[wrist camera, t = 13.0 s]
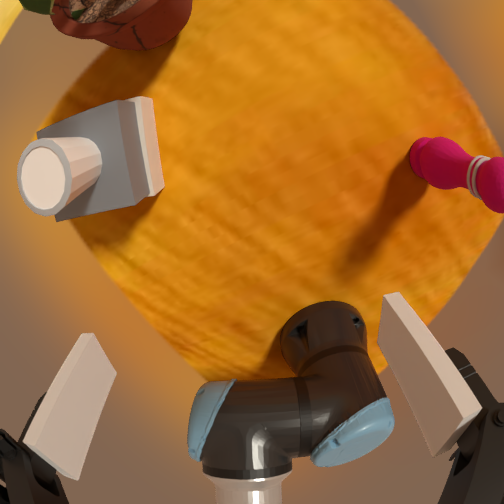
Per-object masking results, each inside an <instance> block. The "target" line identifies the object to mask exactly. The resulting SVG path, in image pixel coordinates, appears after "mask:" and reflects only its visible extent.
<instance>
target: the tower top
mask: <svg viewBox="0 0 504 504" xmlns="http://www.w3.org/2000/svg"><path fill="white" fill-rule="evenodd" d="M59 137H83V138H88V139H90V140H91V141H93V142H94V143H95V144H96V145H97V147H98V149H99V151H100V153H101V158H102V168H101V174H100V175H99V177H98V179H97V181H96V182H95V183H94V184H93V185H91V186H90V187H89V188H87V189H86V190H85V191H84V192H82V193H81V194H80V195H78V196H77V197H76V198H75V199H73V200H72V201H71V202H70V203H69V204H67V205H66V206H65V207H64V208H62V209H61V210H60V211H59V212H58V213H57V214H55V218H56V222H59V221H63V220H67V219H72V218H76V217H80V216H85V215H89V214H94V213H99V212H103V211H108V210H113V209H118V208H123V207H128V206H133V205H136V204H138V203H139V202H140V201H141V200H142V199H143V198H145V197H146V196H147V195H148V194H149V193H150V189H149V184H148V179H147V174H146V169H145V164H144V158H143V153H142V147H141V141H140V135H139V129H138V122H137V115H136V108H135V102H131V101H123V100H115V101H112V102H109V103H106V104H103V105H100V106H97V107H94V108H91V109H89V110H86V111H84V112H81V113H78V114H76V115H73V116H71V117H69V118H66V119H64V120H62V121H59V122H57V123H55V124H52V125H50V126H48V127H46V128H44V129H42V130H40V131H38V132H37V138H38V139H41V138H59Z"/></svg>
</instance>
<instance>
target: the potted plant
mask: <svg viewBox="0 0 504 504" xmlns="http://www.w3.org/2000/svg"><path fill="white" fill-rule="evenodd" d="M19 1H20V3H21V4H22V6H23V8H24V9H25V10H28V11H32V12H36V13H39V14H45V15H50V16H51V19H52V21H53V25H54V26H55V27H56V28H57V29H58V30H59V31H60V32H62V33H64V34H65V35H68V36H72V37H76V38H80V39H95V40H98V41H100V42H103V43H105V44H107V45H109V46H112V47H115V48H118V49H126V50H136V51H140V50H148V49H152V48H155V47H158V46H160V45H163V44H164V43H166V42H168V41H170V40H171V39H172V38H173V37H175V36H176V35H177V34H178V33H179V32H180V31H181V30H182V29H183V28H184V26H185V25H186V23H187V22H188V19H189V17H190V14H191V10H192V0H19Z"/></svg>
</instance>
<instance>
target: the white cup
mask: <svg viewBox="0 0 504 504" xmlns="http://www.w3.org/2000/svg"><path fill="white" fill-rule="evenodd" d="M101 168H102V158H101V153H100V151H99V149H98V147H97V145H96V144H95V143H94V142H93V141H91V140H90V139H88V138H83V137H59V138H41V139H38V140H36V141H33V142H31V143H30V144H29V145H28V146H27V148H26V149H25V150H24V151H23V153H22V155H21V158H20V161H19V163H18V172H17V181H18V186H19V191H20V194H21V196H22V198H23V200H24V202H25V203H26V205H27V206H28V207H29V208H30V209H31V210H32V211H33V212H34V213H36V214H39V215H42V216H50V215H55V214H57V213H58V212H59V211H60V210H61V209H62V208H64V207H65V206H66V205H67V204H69V203H70V202H71V201H72V200H73V199H75V198H76V197H77V196H78V195H80V194H81V193H82V192H84V191H85V190H86V189H87V188H89V187H90V186H91V185H93V184H94V183H95V182H96V181H97V179H98V177H99V175H100V174H101Z"/></svg>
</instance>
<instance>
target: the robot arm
mask: <svg viewBox="0 0 504 504" xmlns="http://www.w3.org/2000/svg"><path fill="white" fill-rule="evenodd" d="M377 343H378V345H379V347H380V349H381V351H382V353H383V355H384V357H385V358H386V360H387V362H388V364H389V366H390V368H391V370H392V372H393V374H394V375H395V378H396V380H397V382H398V383H399V386H400V387H401V390H402V391H403V394H404V396H405V398H406V400H407V402H408V404H409V406H410V408H411V410H412V412H413V414H414V417H415V419H416V421H417V423H418V425H419V427H420V429H421V432H422V434H423V436H424V438H425V441H426V443H427V445H428V447H429V450H430V452H431V454H432V457H435V456H438V455H439V454H442V453H443V452H445V451H448V450H450V449H451V448H452V446H453V445H454V444H455V443H456V442H457V444H458V446H459V448H458V449H457V450H456V451H455V452H454V453H453V454H452V456H451V457H450V459H449V461H451V460H452V459H454V457H455V459H454V462H453V465H452V468H451V471H450V474H449V477H448V479H447V482H446V485H445V487H444V490H443V492H442V495H441V497H440V500H439V502H438V504H504V403H498V402H497V401H496V399H495V398H494V397H493V395H492V394H491V392H490V391H489V389H488V388H487V386H486V385H485V383H484V382H483V380H482V379H481V378H480V376H479V375H478V373H476V371H475V369H474V368H473V366H471V365H470V362H469V361H468V359H467V358H466V357H465V355H464V354H462V353H461V352H459V351H458V350H456V349H455V348H451V349H448V350H446V351H444V350H443V349H442V347H441V346H440V344H439V343H438V342H437V340H436V339H435V338H434V337H433V335H432V334H431V332H430V331H429V330H428V328H427V327H426V326H425V324H424V323H423V322H422V320H421V319H420V318H419V317H418V315H417V314H416V313H415V312H414V310H413V309H412V308H411V306H410V305H409V304H408V303H407V302H406V300H405V299H404V298H403V297H402V295H401V294H400V293H399V292H395V293H391V294H387V295H383V303H382V311H381V319H380V326H379V333H378V340H377ZM280 344H281V350H282V354H283V357H284V359H285V360H286V362H287V363H288V365H289V366H290V368H291V369H292V371H293V372H294V374H295V375H296V377H293V378H292V377H291V378H278V379H261V380H237V379H232V380H229V381H211V382H207V383H205V384H204V385H202V386H201V387H200V389H199V390H198V392H197V394H196V396H195V399H194V402H193V405H192V409H191V413H190V419H189V425H188V437H187V439H188V440H187V441H188V442H187V443H188V447H189V449H188V450H189V451H188V452H189V455H190V457H191V458H192V459H194V460H196V461H202V464H203V474H204V475H205V476H206V477H207V478H208V479H210V480H211V481H212V482H213V483H214V484H215V489H216V504H282V492H281V482H282V481H283V480H284V479H285V478H286V477H287V476H288V475H289V474H290V473H291V472H292V458H297V457H305V456H310V459H311V461H312V462H313V464H314V465H316V466H319V467H323V466H325V467H331V466H336V465H340V464H344V463H347V462H350V461H352V460H354V459H357V458H359V457H361V456H363V455H365V454H367V453H368V452H370V451H372V450H373V449H375V448H376V447H377V446H379V445H380V444H381V443H382V442H384V441H385V440H386V439H387V438H388V436H389V435H390V434H391V432H392V430H393V428H394V424H395V421H394V416H393V412H392V409H391V406H390V400H389V399H388V398H387V396H386V393H385V391H384V389H383V387H382V384H381V382H380V380H379V378H378V375H377V373H376V371H375V369H374V366H373V364H372V362H371V360H370V358H369V356H368V353H367V330H366V325H365V322H364V320H363V319H362V317H361V315H360V313H359V312H358V310H357V309H356V308H354V307H353V306H351V305H349V304H347V303H344V302H339V301H325V302H320V303H316V304H313V305H310V306H308V307H306V308H304V309H302V310H300V311H299V312H297V313H296V314H295V315H294V316H293V317H291V318H290V319H289V321H288V322H287V323H286V325H285V326H284V328H283V330H282V333H281V337H280ZM116 374H117V373H116V371H115V370H114V368H113V366H112V365H111V363H110V362H109V360H108V358H107V356H106V355H105V353H104V351H103V349H102V348H101V346H100V344H99V342H98V341H97V339H96V337H95V335H94V333H87V334H86V333H84V334H81V336H80V337H79V339H78V340H77V342H76V344H75V345H74V347H73V348H72V350H71V352H70V353H69V355H68V357H67V358H66V360H65V362H64V363H63V365H62V367H61V368H60V370H59V372H58V374H57V375H56V377H55V379H54V381H53V382H52V384H51V386H50V388H49V390H48V392H46V393H45V394H44V395H43V396H42V397H41V398H40V399H39V400H38V402H37V404H36V406H35V410H33V412H32V414H31V417H30V418H29V420H28V422H27V424H26V426H25V428H24V430H23V432H22V434H21V437H20V438H19V440H18V442H16V441H15V440H14V439H13V438H12V437H11V436H10V435H9V434H8V433H7V432H6V431H5V430H3V429H0V479H1V480H2V481H4V482H5V483H6V488H5V487H3V486H2V485H0V504H69V502H68V500H67V497H66V495H65V492H64V490H63V487H62V484H61V481H60V479H59V477H58V475H56V474H55V473H56V470H57V471H59V472H60V473H61V474H63V475H64V476H66V477H69V478H72V479H75V480H79V477H80V473H81V470H82V467H83V464H84V461H85V457H86V454H87V451H88V448H89V445H90V442H91V440H92V437H93V434H94V431H95V428H96V425H97V423H98V420H99V417H100V414H101V412H102V409H103V406H104V404H105V401H106V399H107V396H108V393H109V391H110V389H111V386H112V384H113V381H114V379H115V377H116Z"/></svg>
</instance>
